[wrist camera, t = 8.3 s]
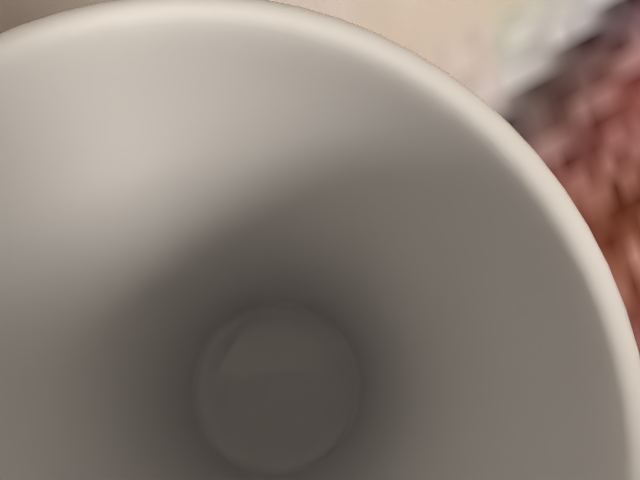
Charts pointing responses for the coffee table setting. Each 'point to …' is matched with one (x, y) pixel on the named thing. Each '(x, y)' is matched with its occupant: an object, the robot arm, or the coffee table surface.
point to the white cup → (288, 262)
